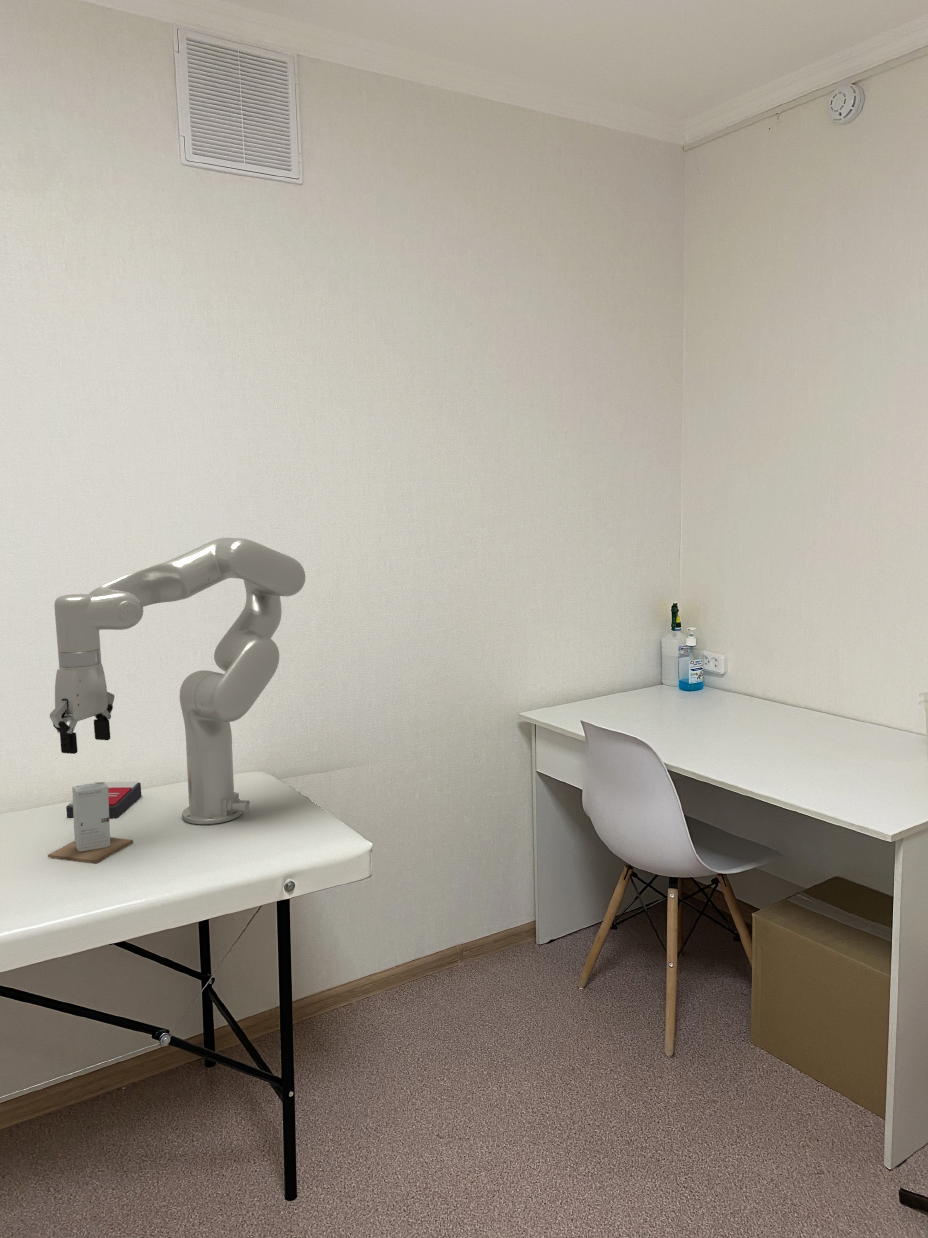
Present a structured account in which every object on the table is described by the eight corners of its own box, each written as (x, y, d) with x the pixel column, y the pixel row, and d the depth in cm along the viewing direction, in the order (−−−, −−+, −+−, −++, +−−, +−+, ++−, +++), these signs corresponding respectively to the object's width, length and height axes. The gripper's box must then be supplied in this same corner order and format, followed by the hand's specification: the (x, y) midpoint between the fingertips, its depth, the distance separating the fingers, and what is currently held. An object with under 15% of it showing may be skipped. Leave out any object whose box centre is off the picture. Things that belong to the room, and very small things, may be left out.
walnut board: (133, 842, 183) (133, 840, 183) (96, 863, 172) (96, 860, 172) (86, 837, 186) (86, 834, 186) (48, 857, 176) (47, 854, 176)
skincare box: (78, 853, 176) (74, 792, 175) (74, 846, 180) (70, 786, 178) (112, 846, 179) (108, 786, 178) (107, 839, 183) (103, 780, 182)
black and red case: (64, 804, 197) (93, 779, 212) (66, 823, 198) (95, 797, 213) (115, 803, 197) (140, 779, 212) (117, 822, 198) (142, 797, 212)
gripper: (92, 651, 185) (98, 733, 187) (31, 666, 168) (38, 757, 170) (125, 652, 183) (130, 735, 185) (65, 668, 166) (72, 760, 168)
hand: (86, 746), depth 178 cm, fingers open, 9 cm apart
